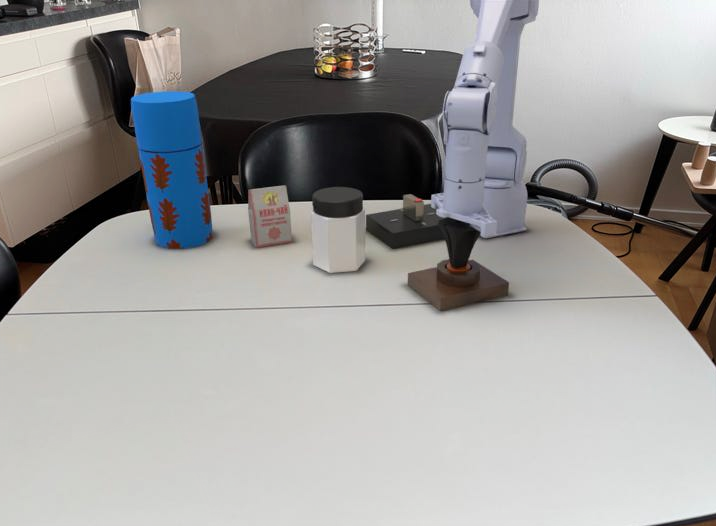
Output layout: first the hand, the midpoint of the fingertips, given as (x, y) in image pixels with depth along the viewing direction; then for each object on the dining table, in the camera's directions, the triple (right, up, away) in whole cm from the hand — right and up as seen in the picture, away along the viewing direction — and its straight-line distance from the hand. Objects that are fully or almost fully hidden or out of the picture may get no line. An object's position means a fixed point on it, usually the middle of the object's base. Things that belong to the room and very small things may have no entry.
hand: (458, 266), depth 104 cm
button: (0, -1, +1) cm, 2 cm away
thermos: (-47, +8, +23) cm, 54 cm away
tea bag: (-31, +7, +21) cm, 38 cm away
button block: (0, -4, +2) cm, 4 cm away
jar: (-18, +2, +12) cm, 22 cm away
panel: (-5, +9, +24) cm, 26 cm away
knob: (-5, +12, +22) cm, 26 cm away
